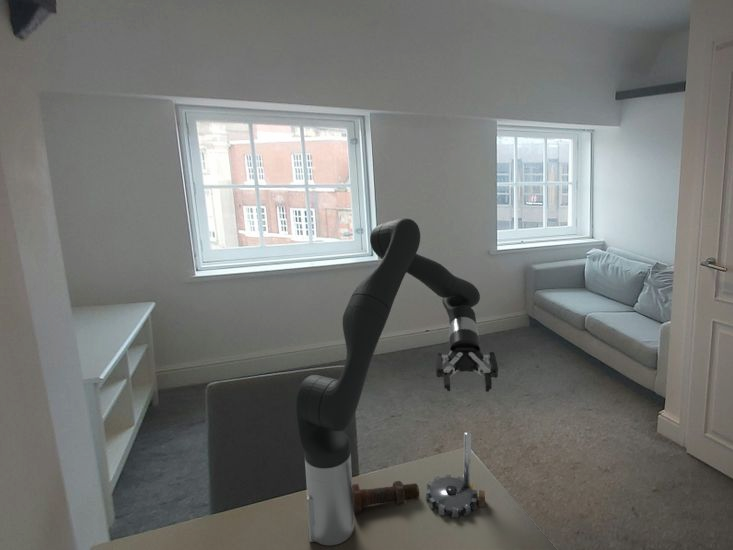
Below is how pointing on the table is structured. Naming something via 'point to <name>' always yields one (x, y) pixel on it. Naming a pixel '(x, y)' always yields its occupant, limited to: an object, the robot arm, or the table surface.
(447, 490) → the sprocket
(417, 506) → the table surface
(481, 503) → the brown block
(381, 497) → the bolt
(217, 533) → the table surface
